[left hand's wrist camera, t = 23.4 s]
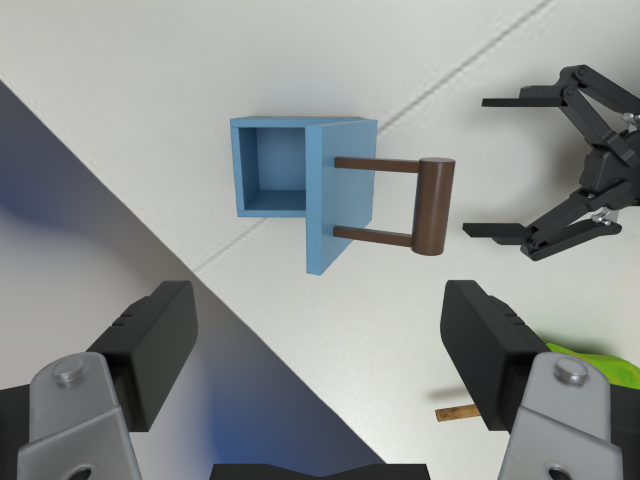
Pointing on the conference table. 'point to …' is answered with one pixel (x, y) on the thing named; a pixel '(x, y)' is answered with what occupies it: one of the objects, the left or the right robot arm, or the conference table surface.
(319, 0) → the conference table surface
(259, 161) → the chest
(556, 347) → the decorative tree
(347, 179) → the blue box lid
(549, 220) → the right robot arm
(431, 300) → the conference table surface
